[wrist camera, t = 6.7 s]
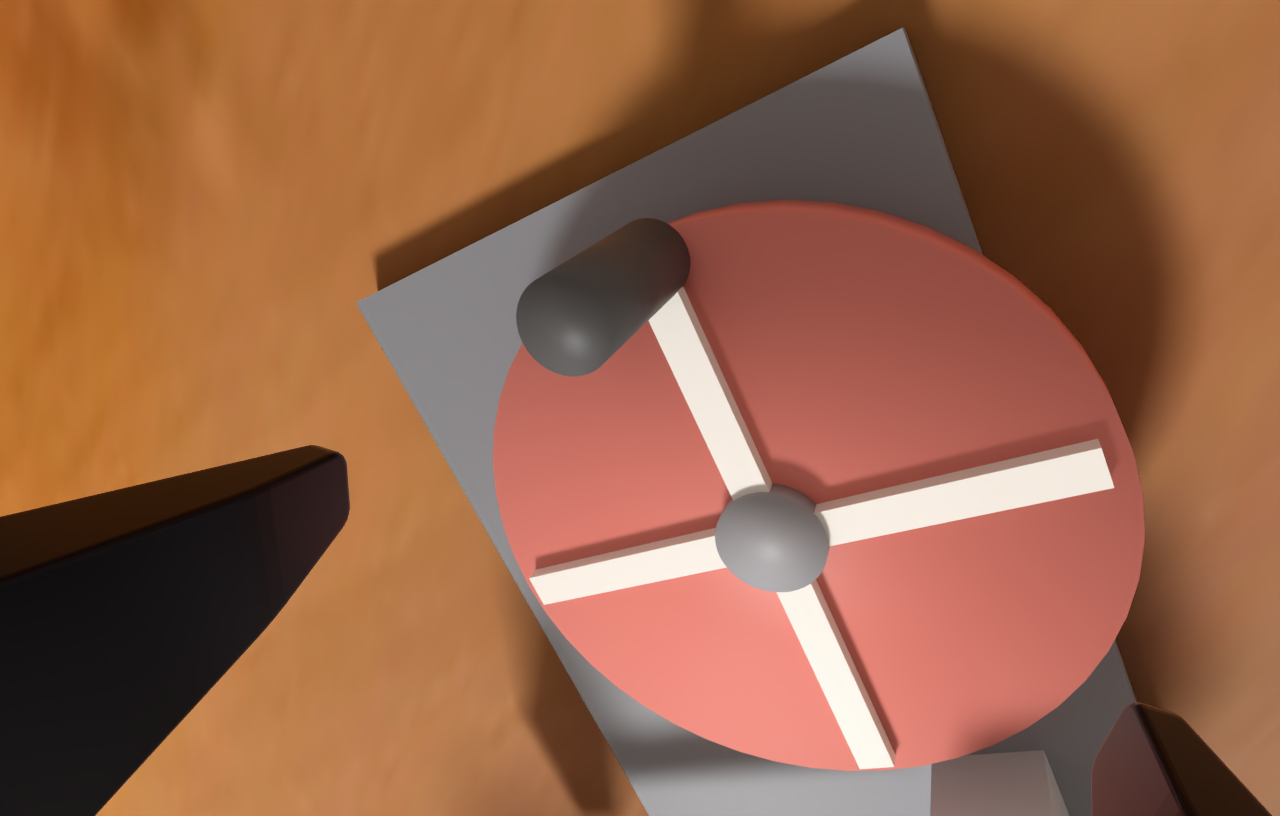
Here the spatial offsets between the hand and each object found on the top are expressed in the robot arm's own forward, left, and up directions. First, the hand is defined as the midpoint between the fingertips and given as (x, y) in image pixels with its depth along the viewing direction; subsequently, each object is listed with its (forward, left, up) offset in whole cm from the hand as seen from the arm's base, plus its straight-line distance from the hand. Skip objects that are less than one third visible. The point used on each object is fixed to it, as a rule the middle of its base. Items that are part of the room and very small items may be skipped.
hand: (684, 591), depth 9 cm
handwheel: (+2, +4, -10) cm, 11 cm away
